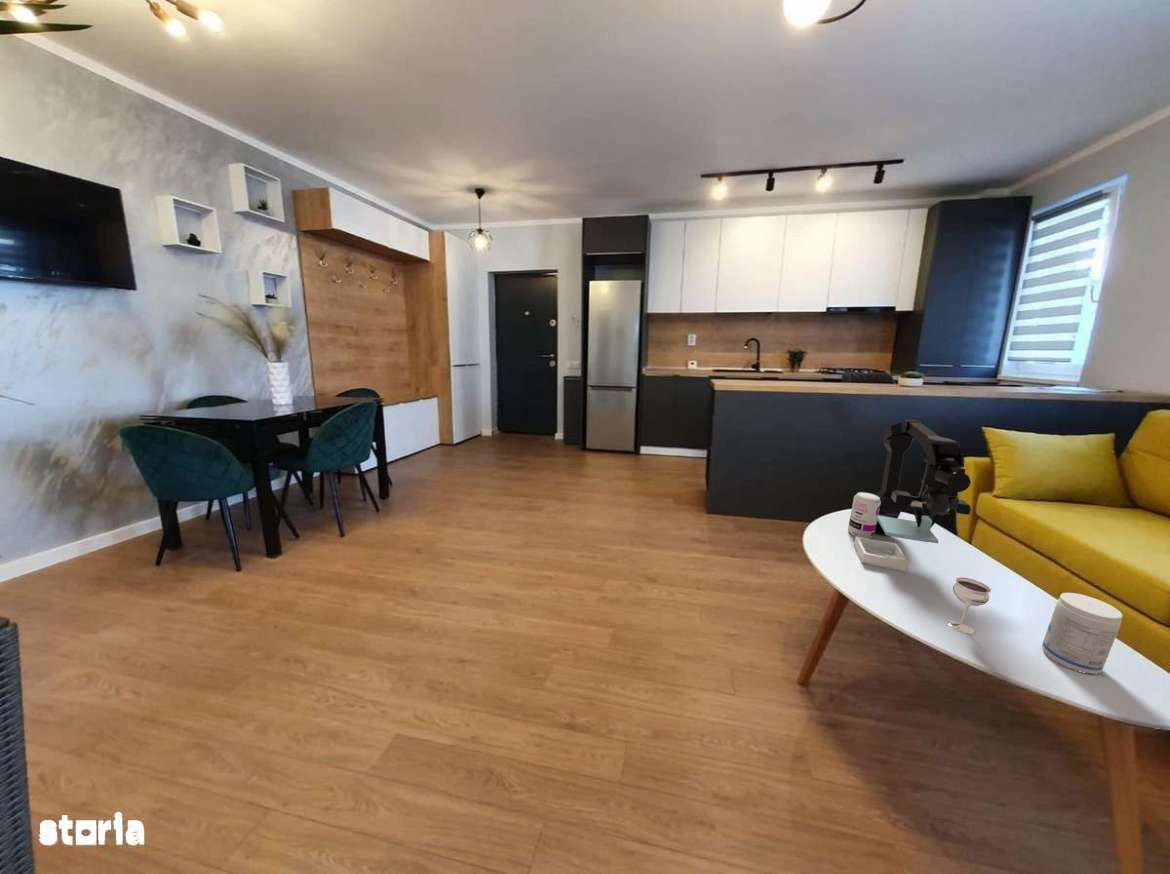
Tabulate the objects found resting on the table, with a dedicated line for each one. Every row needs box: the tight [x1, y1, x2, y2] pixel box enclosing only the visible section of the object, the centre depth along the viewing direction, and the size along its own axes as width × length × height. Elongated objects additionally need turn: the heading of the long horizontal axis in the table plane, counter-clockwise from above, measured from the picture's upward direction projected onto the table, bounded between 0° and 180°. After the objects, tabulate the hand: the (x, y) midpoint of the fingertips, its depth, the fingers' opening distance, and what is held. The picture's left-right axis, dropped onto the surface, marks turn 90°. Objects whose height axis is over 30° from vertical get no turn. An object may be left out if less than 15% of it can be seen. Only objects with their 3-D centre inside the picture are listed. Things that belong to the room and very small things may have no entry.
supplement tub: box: [1041, 592, 1124, 675], centre depth 98 cm, size 10×10×15 cm
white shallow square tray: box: [853, 536, 910, 573], centre depth 142 cm, size 13×12×4 cm
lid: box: [876, 514, 939, 544], centre depth 138 cm, size 14×13×6 cm
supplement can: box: [847, 491, 881, 539], centre depth 158 cm, size 8×8×15 cm
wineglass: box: [948, 576, 992, 635], centre depth 108 cm, size 7×7×12 cm
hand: (923, 527), depth 136 cm, fingers closed on lid, 2 cm apart
